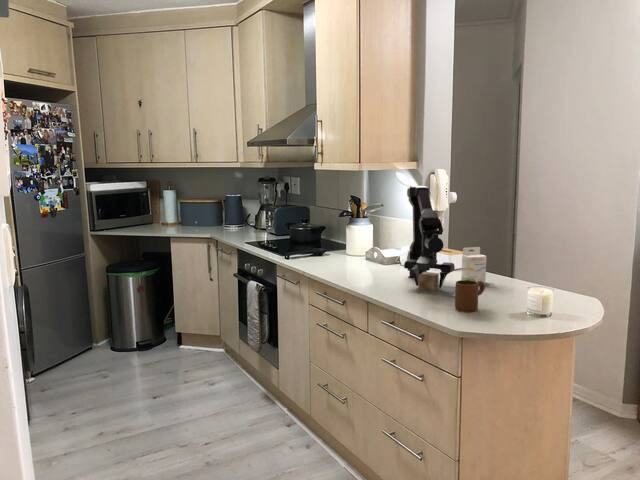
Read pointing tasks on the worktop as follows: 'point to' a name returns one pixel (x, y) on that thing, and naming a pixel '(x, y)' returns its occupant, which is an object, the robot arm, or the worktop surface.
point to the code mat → (440, 291)
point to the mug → (467, 295)
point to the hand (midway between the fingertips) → (428, 287)
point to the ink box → (473, 265)
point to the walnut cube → (428, 281)
